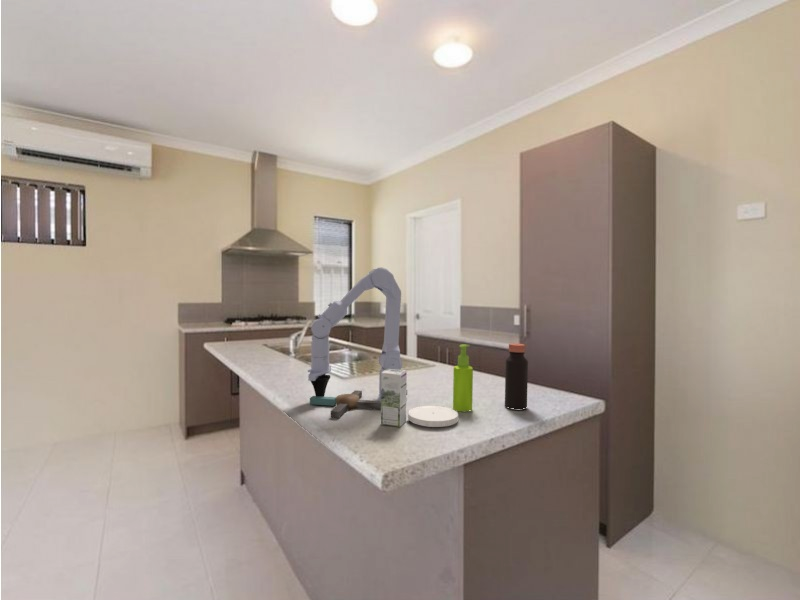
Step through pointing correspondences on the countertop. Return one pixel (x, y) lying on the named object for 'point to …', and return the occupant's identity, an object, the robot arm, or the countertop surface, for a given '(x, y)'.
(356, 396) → the grey brown t-shaped piece
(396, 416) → the syrup box
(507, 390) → the bottle
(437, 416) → the plastic lid
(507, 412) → the countertop surface
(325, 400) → the teal rectangular block
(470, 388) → the soap dispenser
